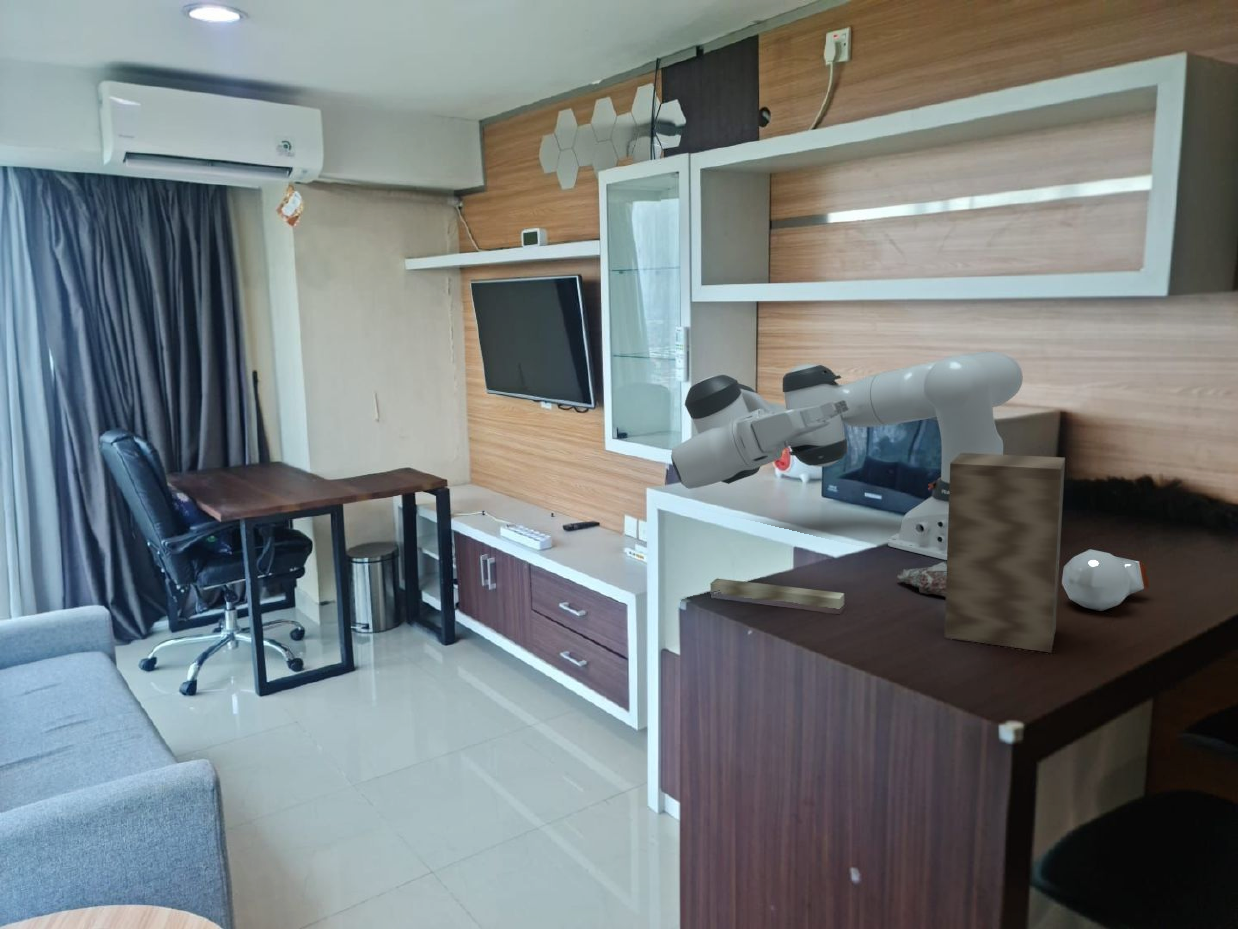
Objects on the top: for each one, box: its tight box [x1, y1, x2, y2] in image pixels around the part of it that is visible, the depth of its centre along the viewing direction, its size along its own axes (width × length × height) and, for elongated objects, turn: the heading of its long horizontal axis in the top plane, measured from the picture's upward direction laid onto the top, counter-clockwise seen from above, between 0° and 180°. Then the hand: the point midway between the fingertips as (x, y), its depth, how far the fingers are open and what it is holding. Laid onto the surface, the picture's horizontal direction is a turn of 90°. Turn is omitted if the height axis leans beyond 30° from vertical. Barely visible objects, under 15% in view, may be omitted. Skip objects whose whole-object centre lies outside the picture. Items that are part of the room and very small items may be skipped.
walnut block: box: [944, 453, 1066, 654], centre depth 125 cm, size 14×10×26 cm
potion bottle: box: [1061, 548, 1150, 612], centre depth 137 cm, size 9×10×15 cm
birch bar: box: [709, 578, 845, 609], centre depth 143 cm, size 22×3×3 cm, turn 62°
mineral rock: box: [897, 561, 947, 598], centre depth 146 cm, size 15×8×4 cm, turn 26°
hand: (841, 405), depth 134 cm, fingers open, 8 cm apart
